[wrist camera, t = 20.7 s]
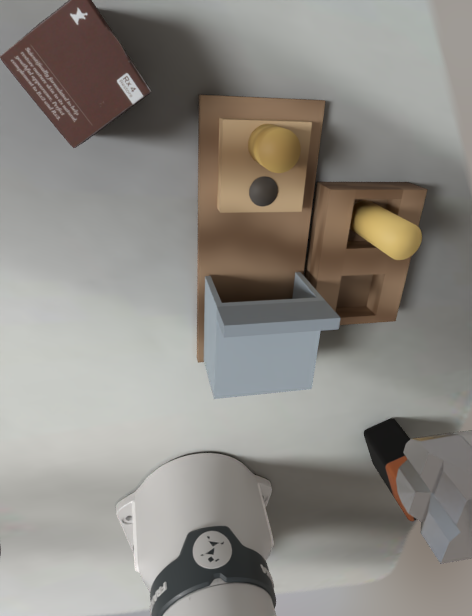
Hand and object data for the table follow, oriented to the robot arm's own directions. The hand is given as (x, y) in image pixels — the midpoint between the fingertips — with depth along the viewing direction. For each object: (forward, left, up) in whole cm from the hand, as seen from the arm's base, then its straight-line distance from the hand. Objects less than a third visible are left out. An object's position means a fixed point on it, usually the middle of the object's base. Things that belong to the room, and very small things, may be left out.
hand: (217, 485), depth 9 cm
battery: (-33, -28, -31) cm, 53 cm away
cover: (-13, -9, -30) cm, 34 cm away
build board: (-7, -19, -31) cm, 37 cm away
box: (+7, +4, -31) cm, 32 cm away
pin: (-3, -19, -30) cm, 36 cm away
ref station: (-6, -9, -31) cm, 33 cm away
